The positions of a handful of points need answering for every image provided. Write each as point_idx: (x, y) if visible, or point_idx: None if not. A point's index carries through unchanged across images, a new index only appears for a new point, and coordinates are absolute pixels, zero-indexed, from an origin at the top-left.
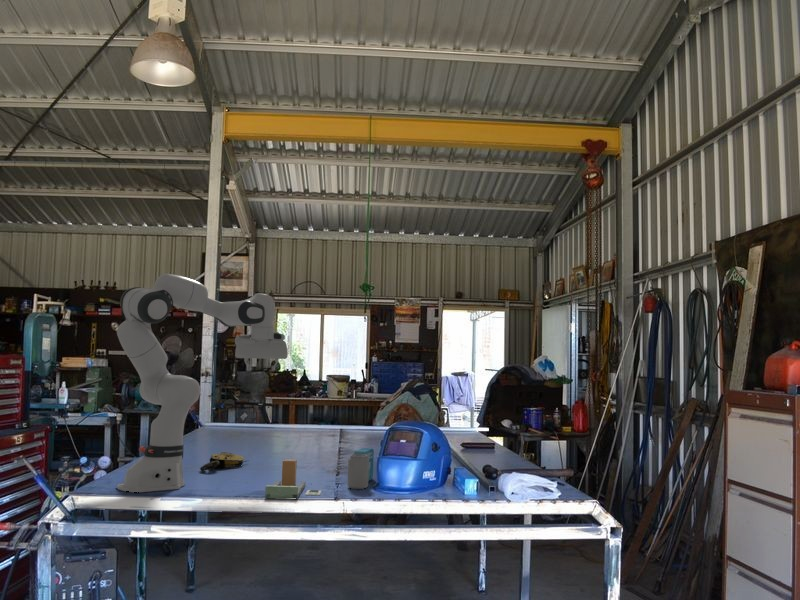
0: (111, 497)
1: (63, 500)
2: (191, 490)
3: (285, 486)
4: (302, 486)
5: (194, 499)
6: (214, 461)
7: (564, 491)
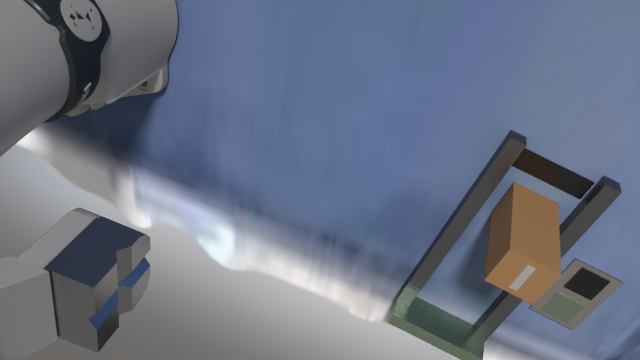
0: None
1: None
2: (204, 115)
3: (443, 347)
4: None
5: (214, 231)
6: None
7: None
